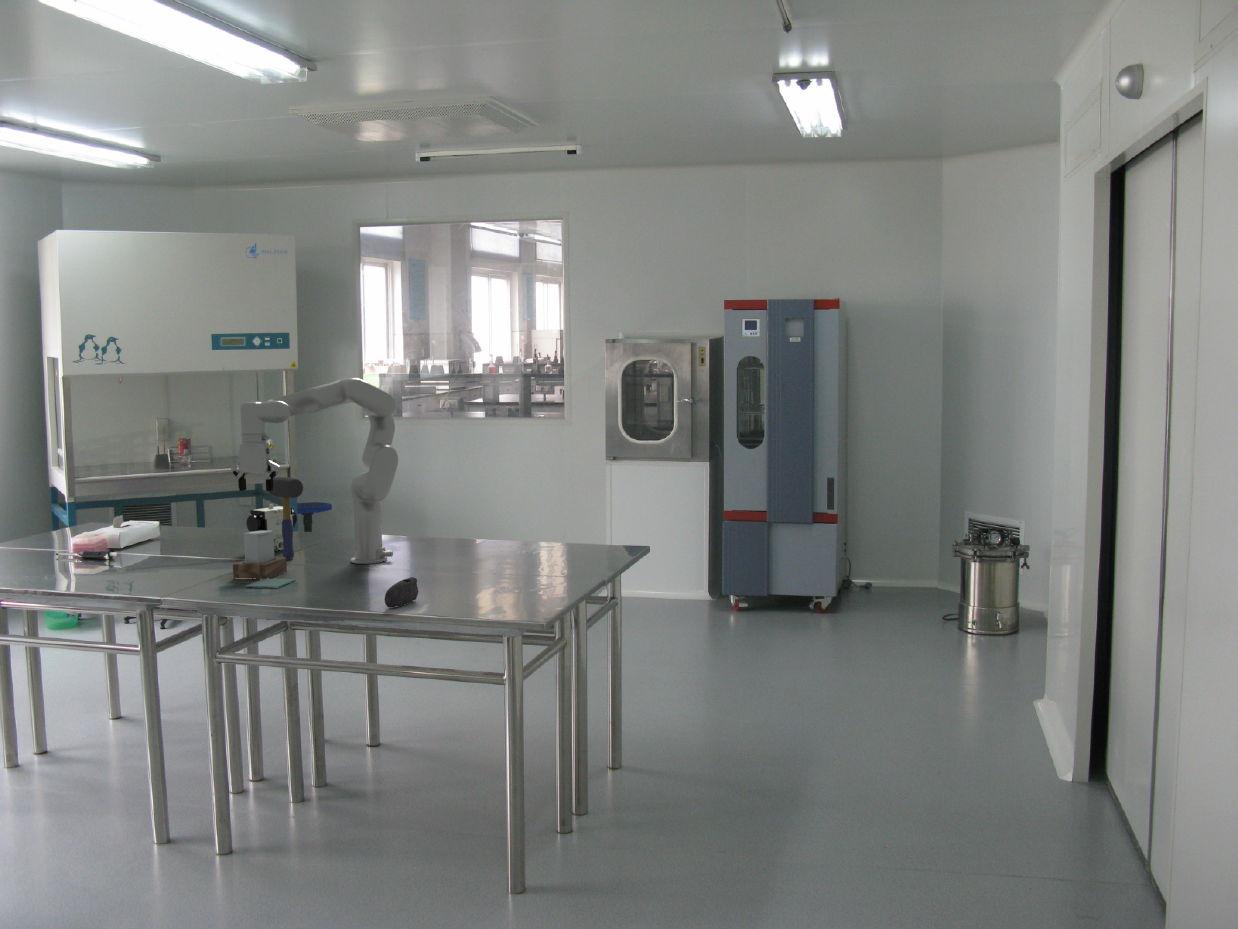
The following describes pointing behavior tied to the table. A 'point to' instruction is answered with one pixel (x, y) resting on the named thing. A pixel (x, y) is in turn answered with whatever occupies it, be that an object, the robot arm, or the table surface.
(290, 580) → the rubber mat
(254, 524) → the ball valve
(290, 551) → the rubber mallet
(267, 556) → the skincare box
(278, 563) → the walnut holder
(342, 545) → the table surface
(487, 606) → the table surface
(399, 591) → the perforated stone tool
